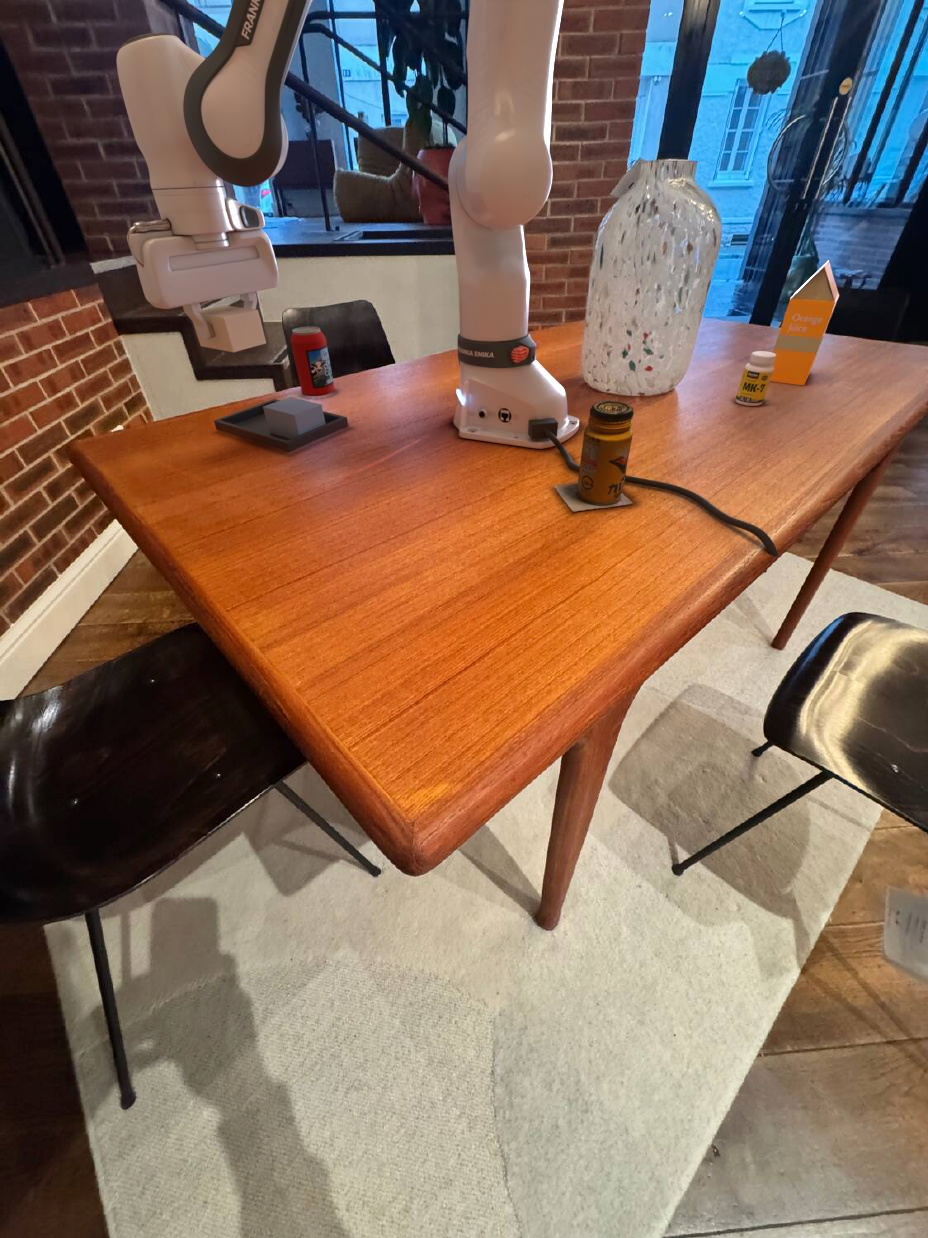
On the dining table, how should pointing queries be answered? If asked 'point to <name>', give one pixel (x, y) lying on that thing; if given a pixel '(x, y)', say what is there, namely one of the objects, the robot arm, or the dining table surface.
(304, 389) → the beverage can
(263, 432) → the tray
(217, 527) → the dining table surface
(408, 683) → the dining table surface
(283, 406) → the blue gray block
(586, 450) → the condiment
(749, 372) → the supplement bottle
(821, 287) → the orange juice
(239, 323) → the beige block
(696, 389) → the dining table surface
